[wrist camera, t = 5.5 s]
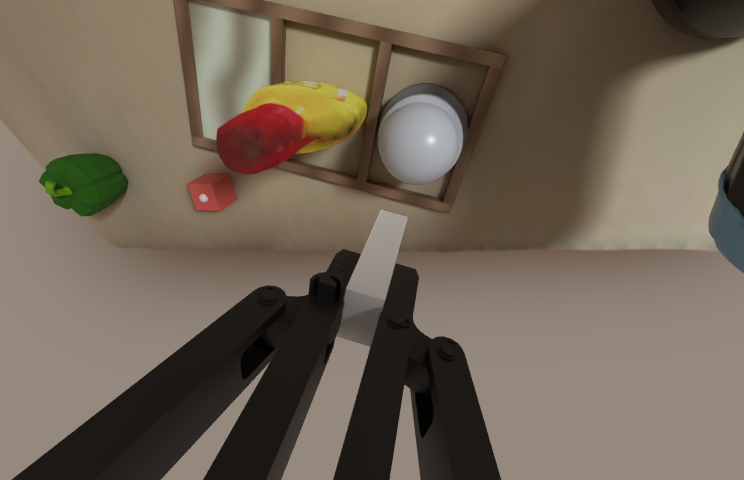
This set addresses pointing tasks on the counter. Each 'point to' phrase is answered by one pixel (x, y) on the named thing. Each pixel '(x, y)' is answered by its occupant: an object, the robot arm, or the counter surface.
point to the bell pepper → (84, 182)
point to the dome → (420, 138)
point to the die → (212, 192)
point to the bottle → (288, 124)
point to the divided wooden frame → (267, 67)
